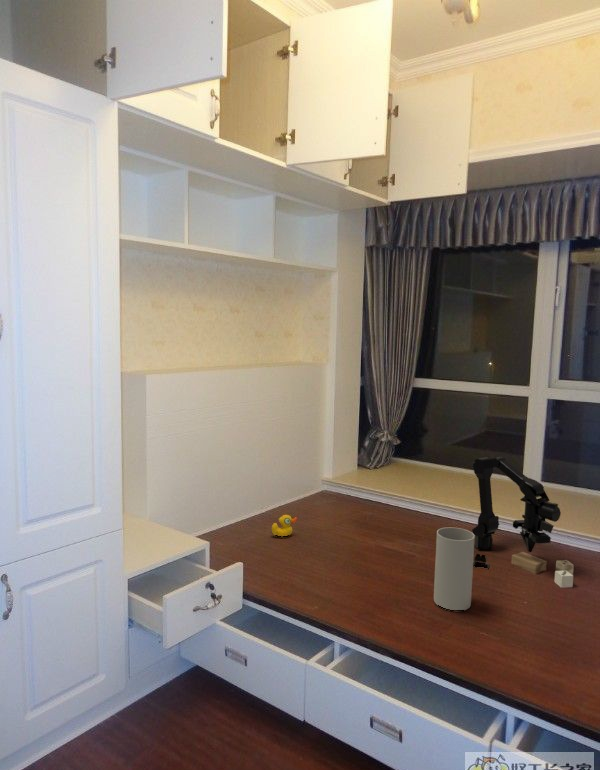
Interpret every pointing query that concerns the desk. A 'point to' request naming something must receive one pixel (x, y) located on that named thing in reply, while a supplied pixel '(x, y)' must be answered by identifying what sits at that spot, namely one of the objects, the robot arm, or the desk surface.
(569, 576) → the off-white painted block
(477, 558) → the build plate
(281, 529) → the duckling
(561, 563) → the pale birch block
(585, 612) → the desk surface
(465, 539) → the cylinder vase
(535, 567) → the tan wooden block
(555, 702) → the desk surface
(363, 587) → the desk surface
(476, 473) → the robot arm
